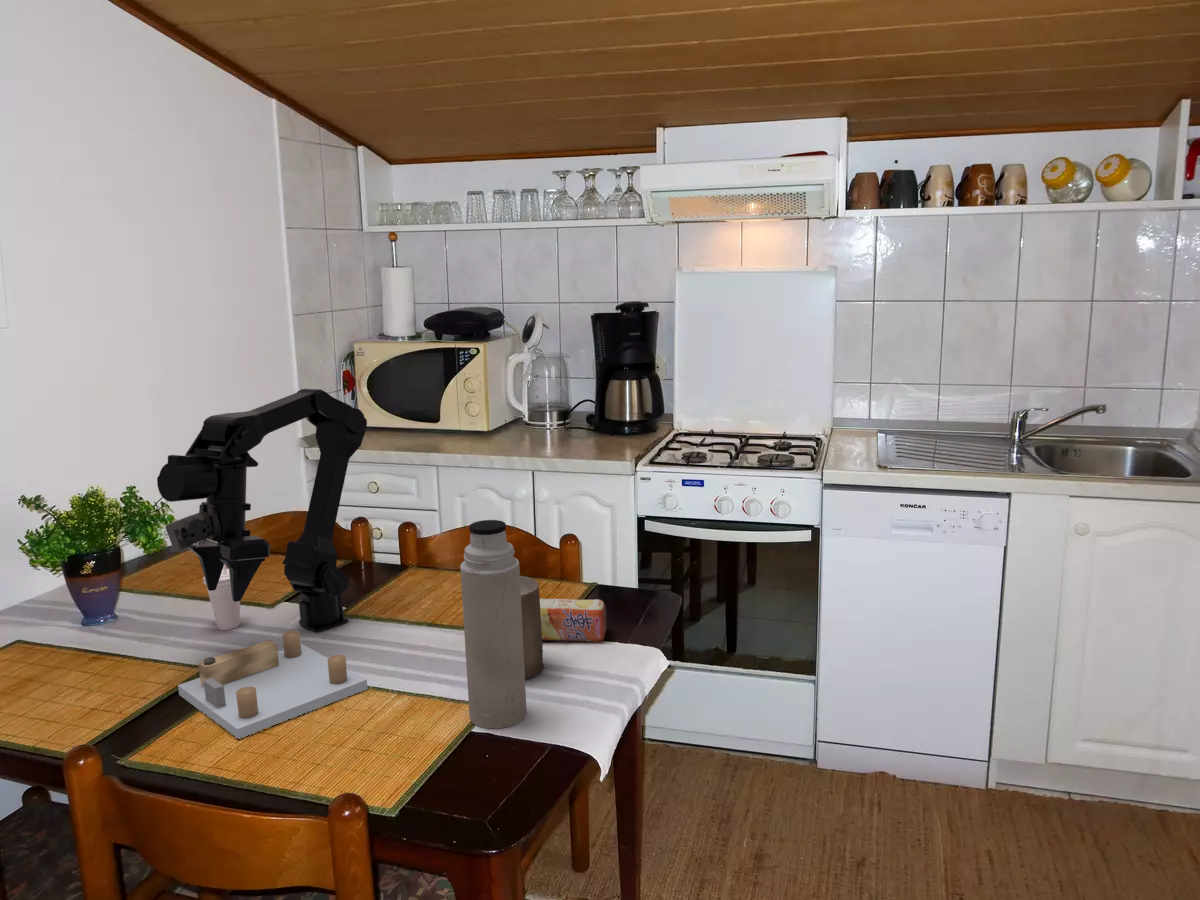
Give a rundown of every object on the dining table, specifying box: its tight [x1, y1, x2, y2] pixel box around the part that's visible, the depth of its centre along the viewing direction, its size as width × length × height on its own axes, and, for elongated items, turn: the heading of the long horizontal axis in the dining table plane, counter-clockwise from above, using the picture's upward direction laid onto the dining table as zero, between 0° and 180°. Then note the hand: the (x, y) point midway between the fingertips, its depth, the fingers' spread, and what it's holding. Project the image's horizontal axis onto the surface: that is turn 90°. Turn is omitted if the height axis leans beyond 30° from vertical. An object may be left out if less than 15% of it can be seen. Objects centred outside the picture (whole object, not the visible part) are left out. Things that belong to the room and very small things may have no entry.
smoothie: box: [203, 564, 241, 631], centre depth 166 cm, size 6×6×14 cm
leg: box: [198, 639, 279, 687], centre depth 143 cm, size 11×2×4 cm, turn 135°
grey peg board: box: [177, 630, 368, 740], centre depth 140 cm, size 20×20×5 cm
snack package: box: [540, 598, 608, 643], centre depth 158 cm, size 21×7×7 cm, turn 85°
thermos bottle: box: [459, 519, 527, 730], centre depth 129 cm, size 8×8×28 cm
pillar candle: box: [520, 575, 545, 680], centre depth 145 cm, size 10×10×15 cm
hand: (224, 595), depth 147 cm, fingers open, 9 cm apart
